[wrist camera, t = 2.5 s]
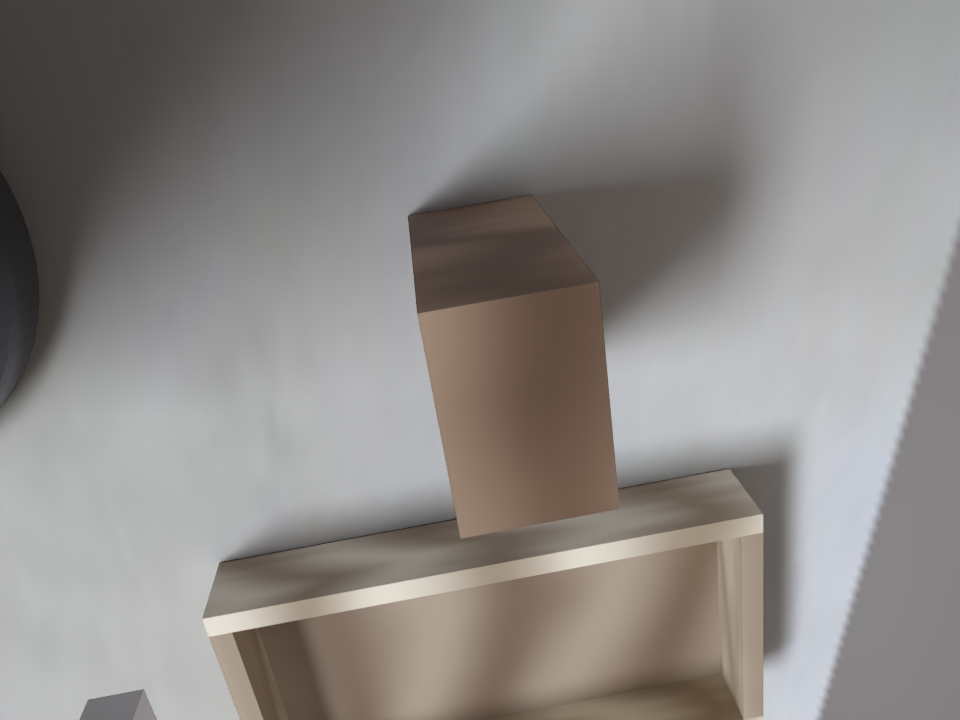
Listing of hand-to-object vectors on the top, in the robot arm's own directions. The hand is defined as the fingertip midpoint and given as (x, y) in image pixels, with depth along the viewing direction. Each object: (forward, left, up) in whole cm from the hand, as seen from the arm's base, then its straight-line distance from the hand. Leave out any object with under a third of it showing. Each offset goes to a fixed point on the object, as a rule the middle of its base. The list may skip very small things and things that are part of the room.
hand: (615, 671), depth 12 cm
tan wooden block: (0, 0, -17) cm, 17 cm away
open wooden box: (-2, -14, -17) cm, 22 cm away
